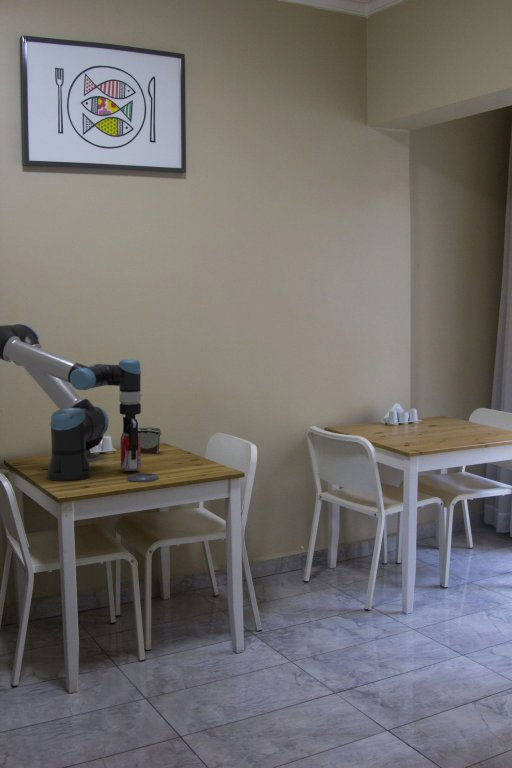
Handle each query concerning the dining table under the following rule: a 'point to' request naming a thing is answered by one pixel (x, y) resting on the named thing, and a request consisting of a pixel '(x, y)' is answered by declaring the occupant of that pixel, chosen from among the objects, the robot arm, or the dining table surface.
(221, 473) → the dining table surface
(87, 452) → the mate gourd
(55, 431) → the robot arm
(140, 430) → the food container
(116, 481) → the dining table surface
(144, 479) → the slate coaster
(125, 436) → the soda can
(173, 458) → the dining table surface
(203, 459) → the dining table surface
